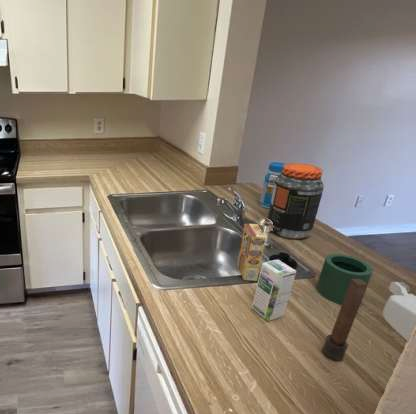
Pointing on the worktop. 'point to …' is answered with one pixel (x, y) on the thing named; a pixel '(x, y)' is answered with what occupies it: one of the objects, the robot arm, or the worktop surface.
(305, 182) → the supplement tub
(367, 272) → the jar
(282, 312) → the syrup box
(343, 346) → the brush
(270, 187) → the beverage bottle
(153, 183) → the worktop surface
